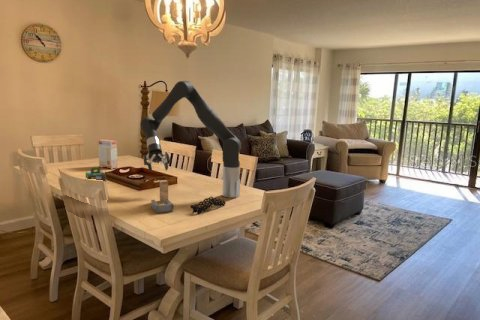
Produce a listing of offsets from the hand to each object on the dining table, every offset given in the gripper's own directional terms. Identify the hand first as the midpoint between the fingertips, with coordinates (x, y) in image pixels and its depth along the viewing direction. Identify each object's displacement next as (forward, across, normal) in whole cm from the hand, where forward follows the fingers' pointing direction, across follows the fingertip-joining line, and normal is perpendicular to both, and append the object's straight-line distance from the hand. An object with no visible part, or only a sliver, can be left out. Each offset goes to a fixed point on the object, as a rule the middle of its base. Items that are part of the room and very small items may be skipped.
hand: (158, 170), depth 194 cm
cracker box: (-52, -17, +73) cm, 91 cm away
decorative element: (+33, +17, -11) cm, 39 cm away
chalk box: (-2, -31, +23) cm, 39 cm away
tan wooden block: (+18, 0, +3) cm, 18 cm away
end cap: (+27, -4, -6) cm, 28 cm away
